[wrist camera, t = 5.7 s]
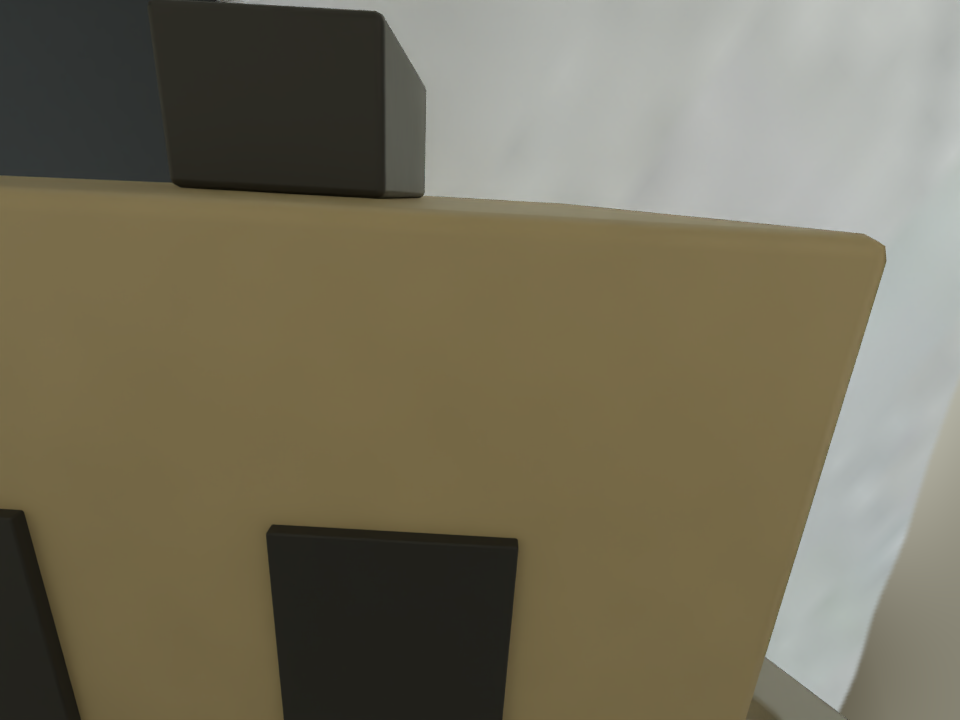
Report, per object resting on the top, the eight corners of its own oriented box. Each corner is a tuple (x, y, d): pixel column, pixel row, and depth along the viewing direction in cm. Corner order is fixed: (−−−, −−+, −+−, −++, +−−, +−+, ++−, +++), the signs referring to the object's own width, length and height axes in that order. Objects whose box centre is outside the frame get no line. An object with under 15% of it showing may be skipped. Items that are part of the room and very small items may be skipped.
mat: (266, 485, 20) (256, 497, 19) (-81, 464, 20) (-103, 475, 19) (200, -155, 13) (183, -175, 13) (-315, -182, 13) (-364, -205, 13)
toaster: (521, 641, 14) (569, 1323, 6) (298, 629, 14) (7, 1289, 6) (573, 141, 10) (1053, -170, 1) (258, 124, 10) (-1073, -294, 1)
